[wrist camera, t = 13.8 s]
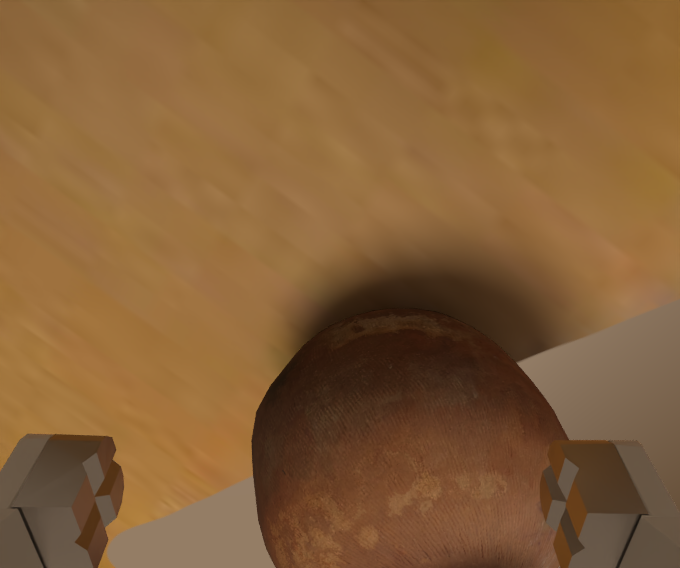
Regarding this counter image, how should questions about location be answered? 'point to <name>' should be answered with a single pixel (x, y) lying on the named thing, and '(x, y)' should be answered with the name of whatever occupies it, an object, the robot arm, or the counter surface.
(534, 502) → the pottery
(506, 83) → the counter surface
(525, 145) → the counter surface
